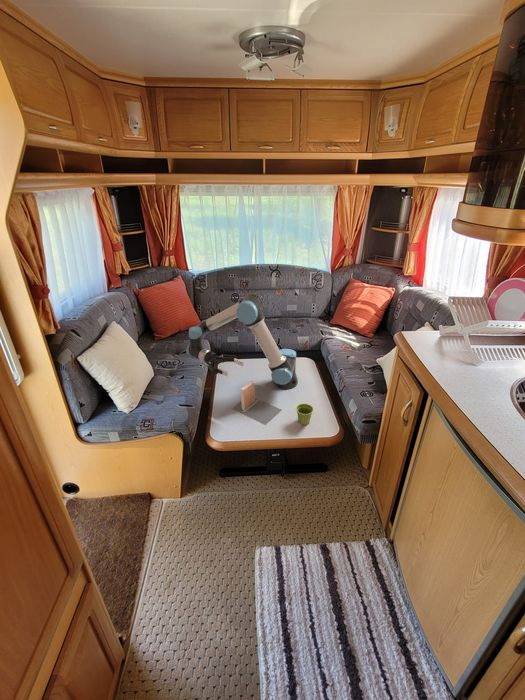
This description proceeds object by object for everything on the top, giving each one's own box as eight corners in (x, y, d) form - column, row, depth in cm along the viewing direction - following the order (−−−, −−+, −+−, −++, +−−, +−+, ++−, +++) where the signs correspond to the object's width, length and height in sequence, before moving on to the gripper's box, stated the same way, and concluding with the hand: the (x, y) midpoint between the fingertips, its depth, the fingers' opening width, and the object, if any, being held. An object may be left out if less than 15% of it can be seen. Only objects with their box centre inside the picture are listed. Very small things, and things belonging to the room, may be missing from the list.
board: (231, 410, 198) (231, 407, 197) (249, 396, 210) (249, 394, 209) (265, 426, 186) (265, 423, 185) (282, 411, 197) (282, 408, 196)
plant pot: (294, 415, 194) (295, 403, 189) (311, 415, 193) (312, 403, 189) (295, 426, 185) (296, 414, 181) (313, 427, 185) (314, 414, 181)
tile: (242, 409, 197) (240, 388, 191) (252, 400, 204) (251, 380, 198) (244, 410, 196) (243, 390, 190) (255, 401, 203) (254, 381, 197)
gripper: (222, 354, 216) (249, 365, 206) (193, 371, 198) (220, 384, 188) (222, 343, 213) (249, 354, 202) (192, 359, 195) (220, 372, 184)
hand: (235, 369), depth 195 cm, fingers open, 13 cm apart
